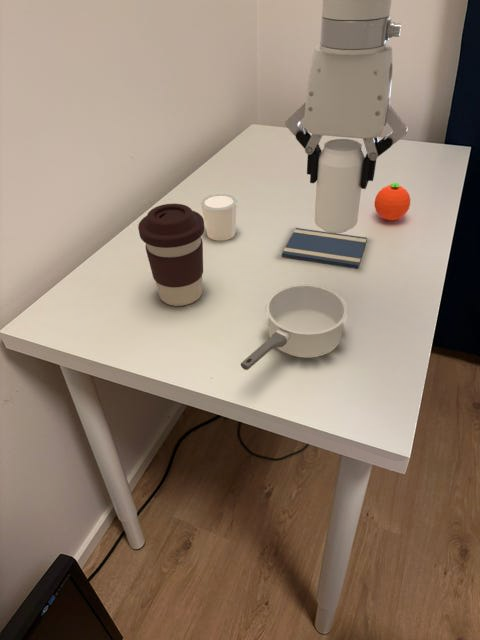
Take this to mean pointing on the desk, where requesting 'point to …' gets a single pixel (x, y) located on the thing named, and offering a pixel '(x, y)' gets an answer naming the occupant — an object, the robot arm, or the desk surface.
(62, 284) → the desk surface
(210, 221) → the white candle
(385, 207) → the clementine
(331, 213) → the beverage can
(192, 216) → the coffee cup
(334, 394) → the desk surface
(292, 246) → the towel
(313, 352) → the saucepan
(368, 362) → the desk surface
